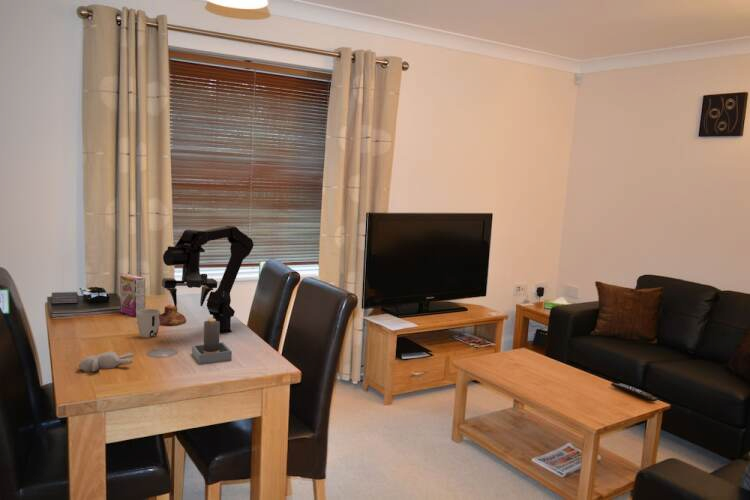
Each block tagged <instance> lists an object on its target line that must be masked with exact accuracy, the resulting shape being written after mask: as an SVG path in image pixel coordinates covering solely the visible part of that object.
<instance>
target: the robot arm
mask: <svg viewBox="0 0 750 500" xmlns="http://www.w3.org/2000/svg"><path fill="white" fill-rule="evenodd" d="M221 239H226V240H227V241H228V242H229V244H230V248H229V249H230V258H229V260H228V263H227V265H226V268H225V270H224V273H223V275H222V277H221V279H220V282H219V284H218V281H217V280H216V279H214V278H208V274H207V273H201V272H200V271H201V270H200V260H201V259H200V257H201V253H205V252H206V250H205V249H204V248H203V246H204V245H206V244H207V243H209V242H210V241H211V242H212V241H215V240H221ZM253 249H254V241H253V239H252V238H251V237H249V236H248V235H247V234H245V233H243V232H242V231H241V230H240V229H239V228H238V227H236V226H235V225H233V226H232V225H225V226H222V227H216V228H211V229H203V230H200V229H185V230H184V231H183V232H182V234H181V236H180V237H179V239H178V241H177V243H176V244H175V245H174V246H171V245H169V246H167V249H166V250H165V251H164V253H163V254H162V260H163V263H164V264H165V265H166V266H168V267H169V266H170V267H172V266H182V276H181V280H176V278H174V277H172V278H171V277H170V278H169V277H167V278H166V277H165V278H163V279H162V280H161V287H163V289H166V290H167V291H169V293H170V295H171V296H170V297H171V298H172V303H173V304H174V305H173V306H175V307H176V306H177V305H178V302H177V301H178V300H177V299H178V298H177V291H178V289H177V288H176V287H178V286H180V287H181V286H182V287H184V286H187V287H188V288H189V289H192V288H197V289H199V288H201V292H200V293H201V294H200V301H199V302H200V304H199V305H200V307H203V305H204V303H205V301H206V308H207V310H208V313H209V315H212V319H216V321H219V322H220V334H223V333H231V332H232V329H231V321H232V320H231V318H232V317H234V316H235V312H236V311H235V310H234V308H232V306H231V302H232V299H231V292H232V288H233V287H234V283H235V281H236V279H237V276H238V273H239V271H240V268H241V266H242V264H243V261H244V260H245V259H246V258H248V257H249V255H250V254H251V252H252V250H253ZM214 289H216V290H215V291H214ZM208 294H209V295H208ZM207 296H208V298H207ZM206 298H207V299H206ZM177 307H178V306H177Z"/></svg>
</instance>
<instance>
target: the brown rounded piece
mask: <svg viewBox="0 0 750 500" xmlns="http://www.w3.org/2000/svg"><path fill="white" fill-rule="evenodd" d="M185 323H187V319H186V316H185V315H184V314H183V313H180V312H178V306H176V307H175V305H172V304H166V305H165V306H164V311H163V313H160V323H159V326H162V327H177V326H182V325H184V324H185Z"/></svg>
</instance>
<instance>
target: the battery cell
mask: <svg viewBox="0 0 750 500" xmlns="http://www.w3.org/2000/svg"><path fill="white" fill-rule="evenodd" d="M220 335H221V333H220V322H219V321H216V319H213V318H208V320H205V321H204V322H203V344H204V354H207V353H216V352H219V343H220Z"/></svg>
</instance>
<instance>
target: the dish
mask: <svg viewBox="0 0 750 500" xmlns="http://www.w3.org/2000/svg"><path fill="white" fill-rule="evenodd" d="M232 352H233V351H232V349H230V348H229V347H228V346H227V344H225V342H223V341H222V342H219V352H216V353H207V354H204V343H203V344H194V345H191V355H192V357H193V358H194V359H195V361H196V362H197V364H198V365H205V364H211V363H212V364H213V363H221V362H227V361H232V359H233V358H232V356H233V354H232Z"/></svg>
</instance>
